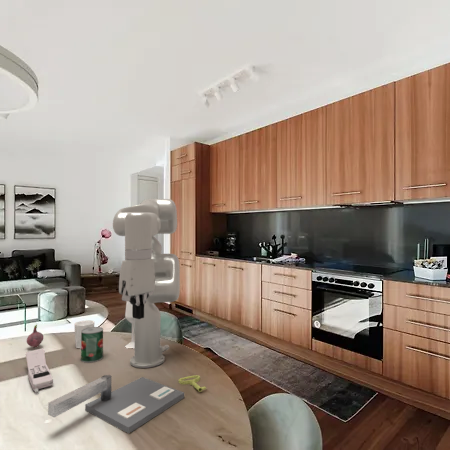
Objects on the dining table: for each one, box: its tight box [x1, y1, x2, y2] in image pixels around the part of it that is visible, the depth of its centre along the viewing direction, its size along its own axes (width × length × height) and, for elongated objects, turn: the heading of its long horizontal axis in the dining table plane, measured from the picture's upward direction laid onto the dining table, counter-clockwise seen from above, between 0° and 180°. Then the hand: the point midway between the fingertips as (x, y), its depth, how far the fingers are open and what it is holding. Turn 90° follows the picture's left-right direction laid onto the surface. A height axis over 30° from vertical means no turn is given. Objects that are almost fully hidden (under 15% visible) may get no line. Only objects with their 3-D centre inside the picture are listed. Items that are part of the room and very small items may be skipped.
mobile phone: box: [25, 348, 54, 394], centre depth 104 cm, size 6×6×25 cm
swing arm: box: [47, 374, 112, 418], centre depth 81 cm, size 3×17×6 cm, turn 151°
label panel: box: [84, 376, 185, 434], centre depth 88 cm, size 20×18×2 cm
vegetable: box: [26, 324, 44, 349], centre depth 131 cm, size 6×6×10 cm
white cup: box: [74, 319, 95, 350], centre depth 133 cm, size 8×8×10 cm
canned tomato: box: [80, 326, 104, 364], centre depth 120 cm, size 8×8×11 cm
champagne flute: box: [124, 301, 135, 349], centre depth 134 cm, size 7×7×24 cm
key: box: [177, 374, 207, 393], centre depth 99 cm, size 7×12×2 cm, turn 45°
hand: (138, 317), depth 91 cm, fingers closed
